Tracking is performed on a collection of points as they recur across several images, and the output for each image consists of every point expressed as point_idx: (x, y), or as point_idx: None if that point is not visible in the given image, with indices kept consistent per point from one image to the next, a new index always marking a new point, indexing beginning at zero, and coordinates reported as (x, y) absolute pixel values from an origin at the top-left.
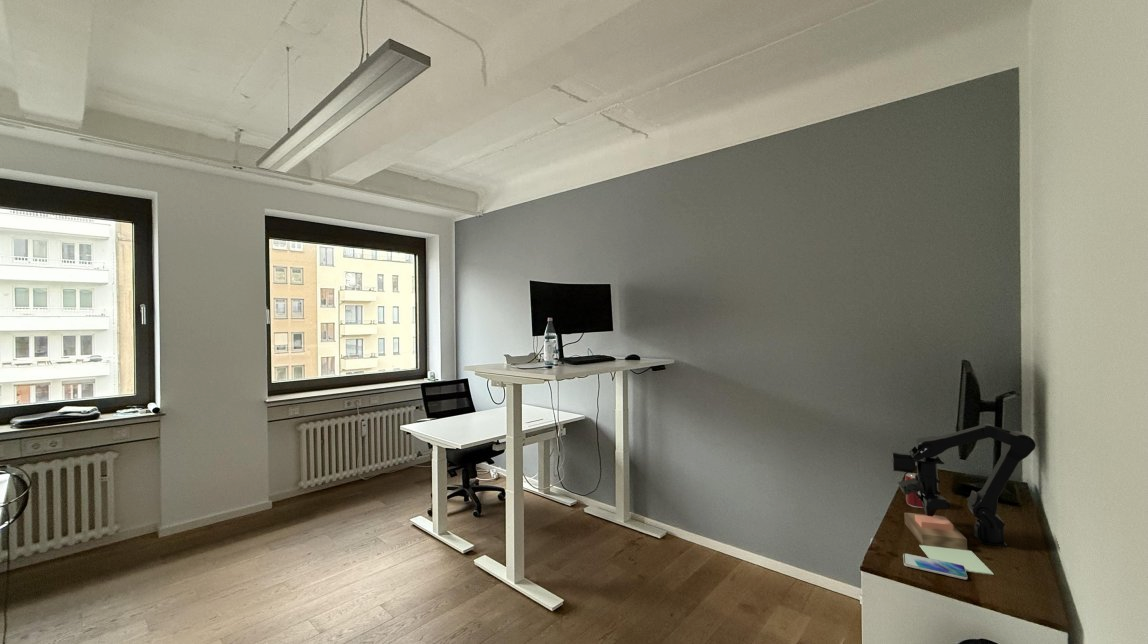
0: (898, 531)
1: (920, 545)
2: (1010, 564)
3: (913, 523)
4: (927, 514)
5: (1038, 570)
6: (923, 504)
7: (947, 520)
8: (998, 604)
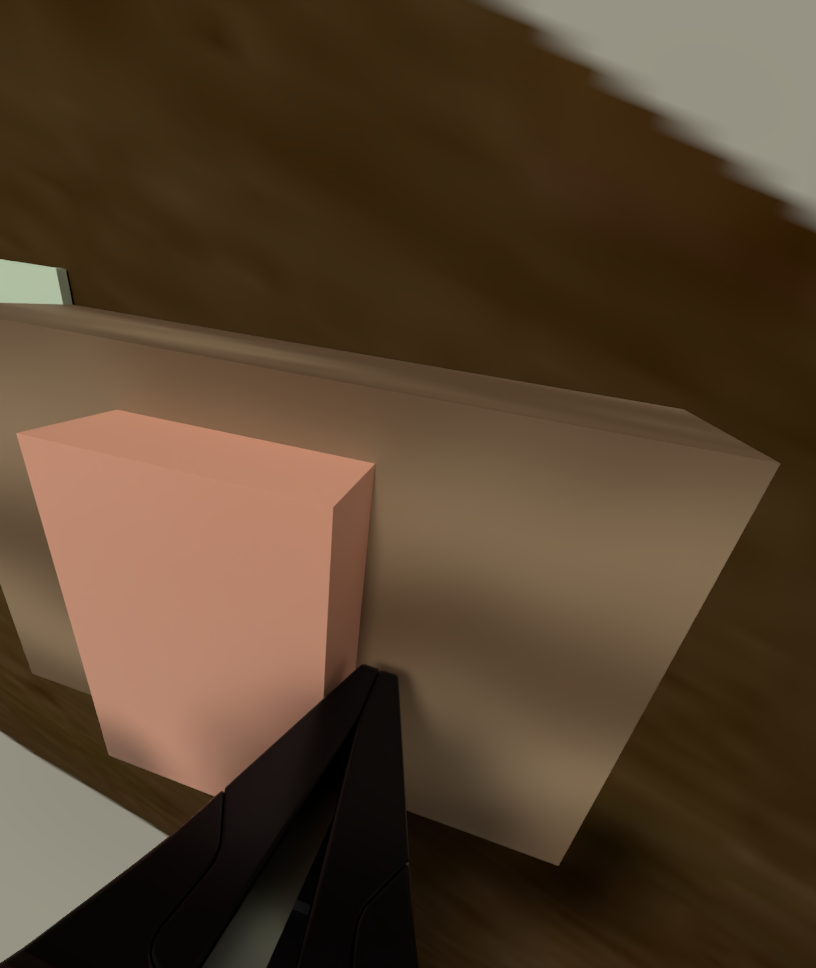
0: (387, 171)
1: (45, 274)
2: (66, 694)
3: (227, 362)
4: (316, 706)
5: (63, 749)
6: (335, 961)
7: (219, 790)
8: None
